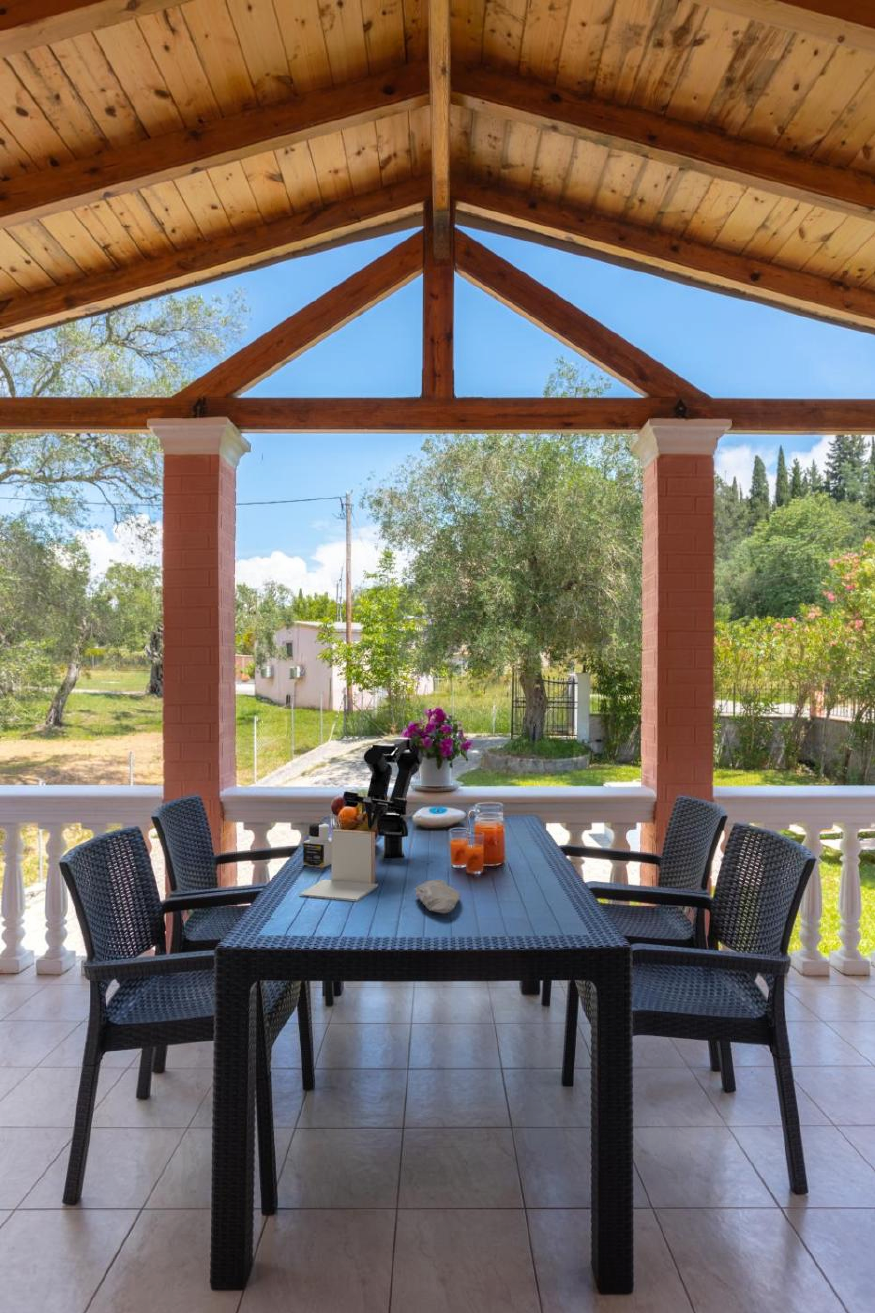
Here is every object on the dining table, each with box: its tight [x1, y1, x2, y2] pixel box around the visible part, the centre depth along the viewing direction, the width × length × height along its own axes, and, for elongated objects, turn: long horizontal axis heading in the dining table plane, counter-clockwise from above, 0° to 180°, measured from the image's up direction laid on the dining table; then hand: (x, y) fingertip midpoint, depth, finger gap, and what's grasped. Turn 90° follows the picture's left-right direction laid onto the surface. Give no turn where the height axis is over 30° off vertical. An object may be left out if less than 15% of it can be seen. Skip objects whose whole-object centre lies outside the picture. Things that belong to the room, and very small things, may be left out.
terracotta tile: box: [330, 828, 376, 884], centre depth 226 cm, size 2×12×14 cm, turn 73°
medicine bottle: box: [302, 822, 331, 868], centre depth 247 cm, size 7×7×12 cm
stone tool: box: [413, 879, 462, 915], centre depth 205 cm, size 12×5×25 cm
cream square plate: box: [299, 879, 379, 903], centre depth 217 cm, size 15×16×1 cm
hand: (369, 829), depth 237 cm, fingers closed
